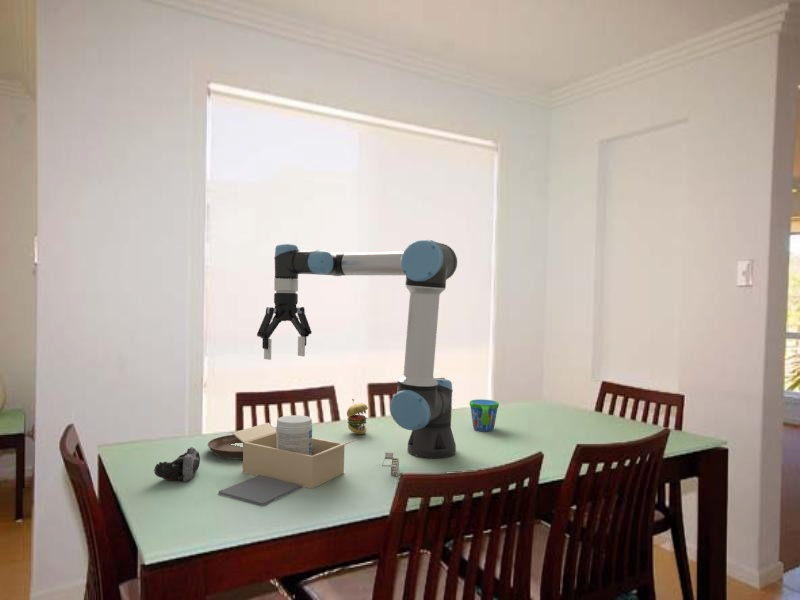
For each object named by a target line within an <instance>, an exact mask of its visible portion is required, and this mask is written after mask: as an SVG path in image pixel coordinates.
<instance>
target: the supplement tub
mask: <svg viewBox="0 0 800 600" xmlns="http://www.w3.org/2000/svg"><path fill="white" fill-rule="evenodd" d="M276 429H277V430H276V448H277V449H281V450H286V451H291V452H296V453H301V454H306V455H310V456H312V438H313V421H312V417H310V416H307V415H299V414H298V415H297V414H296V415H295V414H294V415H283V416H280V417H278V418H277V420H276Z"/></svg>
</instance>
